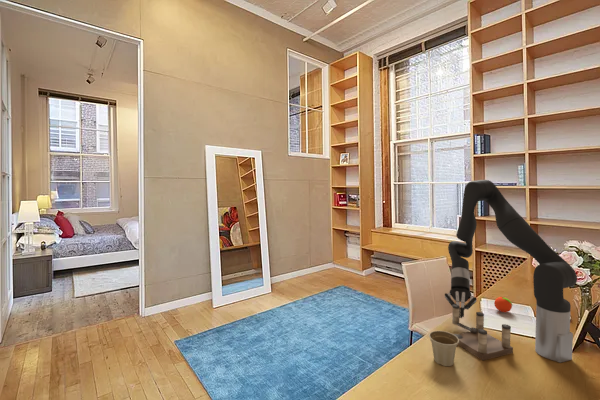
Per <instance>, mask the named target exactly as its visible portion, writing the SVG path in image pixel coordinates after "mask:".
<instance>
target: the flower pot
mask: <svg viewBox="0 0 600 400" xmlns="http://www.w3.org/2000/svg"><path fill="white" fill-rule="evenodd" d="M454 334H455V333H453V332H452V333H451V332H449V331H446V330H445V331H444V330H434V331H433V330H432V331H430V332H429V334H428V338H429V339H430V342H431V347H432V355H433V359H434V362H435V363H436V364H438V365H442V366H444V367H451V366H453V365H454V363H455V357H456V352H457V351H456V349H457V346H458V343H459V339H458V337H457V336H455V335H454Z"/></svg>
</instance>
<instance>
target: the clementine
mask: <svg viewBox="0 0 600 400" xmlns="http://www.w3.org/2000/svg"><path fill="white" fill-rule="evenodd" d="M493 302H494V307H495V308H496V310H498V312H501V313H508V312H510V311H511V310H512V309H513V303H512V301H510V299H509V298H507V297H505V296H498V297H497V298H495V300H494V301H493Z"/></svg>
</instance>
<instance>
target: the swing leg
mask: <svg viewBox="0 0 600 400" xmlns="http://www.w3.org/2000/svg"><path fill="white" fill-rule="evenodd" d="M451 308H452V313H451V314H452V316H451V317H452V320H451V321H452V322H451V323H452V325H455V326H459V327H461V328H462V329H465V330H467V331H468V332H470V331H471V332H472V333H477V329H476V327H469V326H467V325H465V324H464V323H460V318H459V308H461V305H460V306H459V305H452V306H451Z"/></svg>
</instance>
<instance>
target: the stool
mask: <svg viewBox="0 0 600 400" xmlns="http://www.w3.org/2000/svg"><path fill="white" fill-rule="evenodd" d="M475 320H476V321H475V328H476V329H477V333H472V332H471V331H466V332H461V333H453V334H454V335H455V336H457V337H458V339H459V343H458V344H457V346H460V347H461V348H463V349H464V350H466V351H468V352H469V353H470V354H472V355H474V356H475V357H477V358H478V359H480V360H481V361H486V360H491V359H494V358H498V357H502V356H507V355H510V354H513V352H514V347H512V346H511V325H510V324H506V323H505V324H504V323H503V324H501V340H500V339H498V338H496V337H494V336H493V335H490V334H488V331H487V330H486V329H484V327H485V324H484V323H485V322H484V321H485V313H484V312H481V311H476V313H475Z"/></svg>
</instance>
